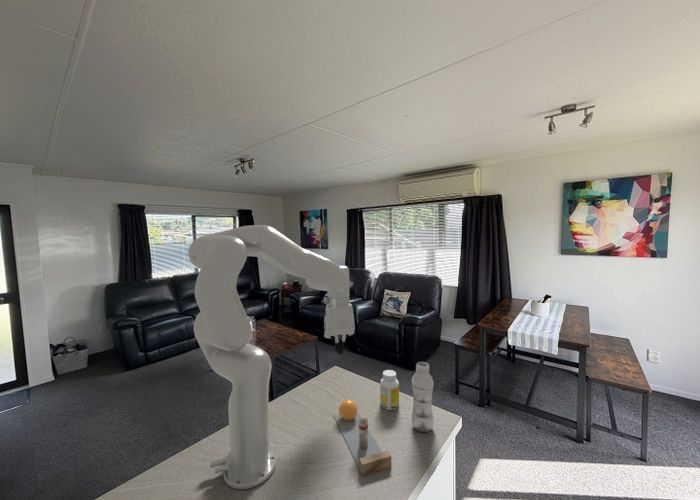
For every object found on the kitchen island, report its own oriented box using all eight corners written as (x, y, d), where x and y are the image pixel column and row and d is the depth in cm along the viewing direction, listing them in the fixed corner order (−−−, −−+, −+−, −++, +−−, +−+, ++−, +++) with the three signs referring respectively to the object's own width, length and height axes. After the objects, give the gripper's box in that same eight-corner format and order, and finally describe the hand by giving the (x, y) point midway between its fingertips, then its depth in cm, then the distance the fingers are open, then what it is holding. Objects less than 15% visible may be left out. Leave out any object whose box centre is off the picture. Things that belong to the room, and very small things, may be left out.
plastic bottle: (434, 436, 84) (435, 370, 83) (411, 433, 85) (411, 368, 84) (432, 422, 90) (433, 360, 89) (411, 420, 92) (411, 359, 91)
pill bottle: (401, 403, 101) (402, 371, 100) (394, 413, 95) (394, 379, 95) (385, 398, 104) (385, 367, 103) (377, 407, 99) (377, 374, 98)
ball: (342, 426, 89) (342, 408, 88) (336, 415, 94) (336, 397, 94) (360, 422, 91) (360, 404, 90) (353, 411, 96) (353, 394, 96)
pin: (361, 451, 79) (360, 421, 78) (357, 444, 81) (357, 415, 80) (369, 448, 79) (369, 419, 79) (365, 442, 82) (365, 413, 81)
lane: (357, 466, 73) (357, 466, 73) (333, 416, 94) (333, 415, 94) (386, 458, 76) (386, 457, 76) (356, 410, 97) (356, 410, 97)
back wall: (362, 476, 70) (362, 464, 70) (359, 470, 72) (359, 458, 72) (391, 467, 73) (391, 455, 73) (387, 461, 75) (387, 450, 75)
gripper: (320, 305, 93) (321, 360, 95) (362, 301, 98) (363, 353, 100) (315, 300, 101) (316, 351, 102) (354, 297, 106) (355, 345, 107)
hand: (339, 352), depth 101 cm, fingers closed
